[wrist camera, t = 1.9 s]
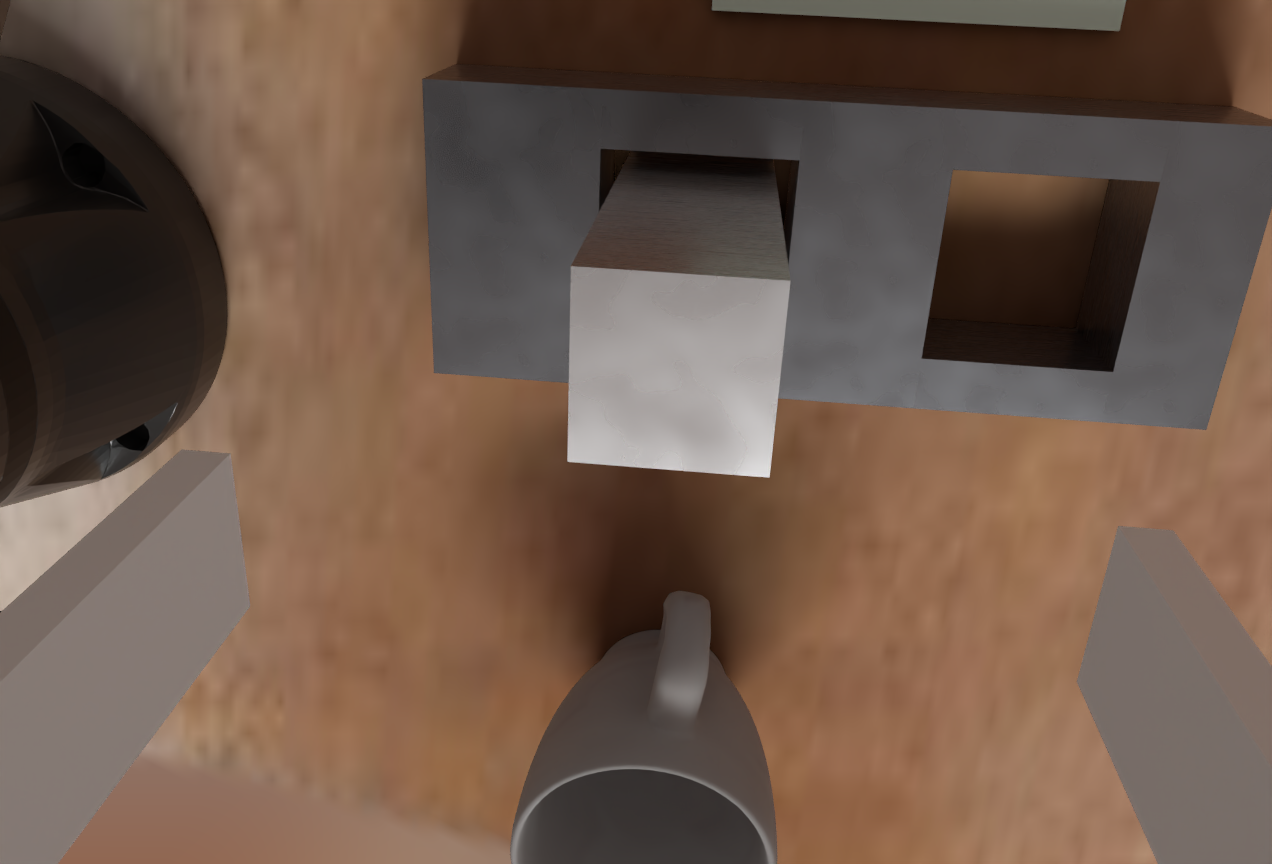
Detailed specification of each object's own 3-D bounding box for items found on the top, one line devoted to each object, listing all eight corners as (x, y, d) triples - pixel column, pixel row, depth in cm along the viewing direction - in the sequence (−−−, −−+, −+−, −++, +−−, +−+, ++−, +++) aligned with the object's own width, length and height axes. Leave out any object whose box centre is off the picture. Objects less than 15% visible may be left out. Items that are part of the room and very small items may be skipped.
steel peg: (627, 280, 37) (567, 461, 24) (633, 146, 35) (570, 266, 22) (759, 289, 36) (769, 477, 24) (772, 154, 34) (790, 280, 22)
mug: (744, 785, 45) (744, 987, 37) (540, 744, 45) (492, 936, 37) (813, 547, 40) (833, 716, 32) (583, 501, 40) (540, 657, 32)
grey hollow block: (463, 331, 38) (433, 372, 34) (456, 63, 34) (422, 79, 30) (1160, 380, 36) (1205, 429, 33) (1233, 106, 33) (1295, 127, 29)
